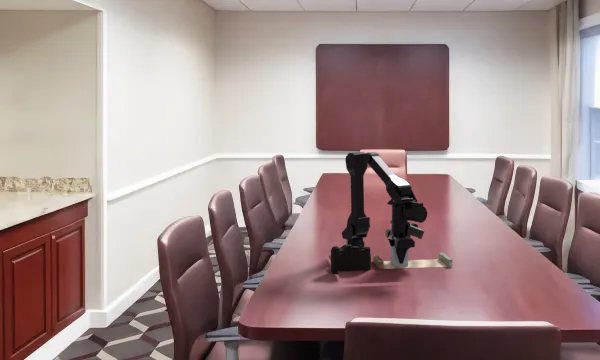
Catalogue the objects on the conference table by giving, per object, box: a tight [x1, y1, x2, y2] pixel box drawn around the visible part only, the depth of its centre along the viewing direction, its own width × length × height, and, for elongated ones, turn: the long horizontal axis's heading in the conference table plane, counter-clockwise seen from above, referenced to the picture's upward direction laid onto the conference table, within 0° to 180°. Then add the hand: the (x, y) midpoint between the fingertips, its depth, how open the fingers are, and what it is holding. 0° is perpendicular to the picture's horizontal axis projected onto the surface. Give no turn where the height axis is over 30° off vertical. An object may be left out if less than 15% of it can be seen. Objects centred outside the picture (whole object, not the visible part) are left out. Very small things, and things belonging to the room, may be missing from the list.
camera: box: [330, 243, 372, 275], centre depth 195 cm, size 14×11×10 cm
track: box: [372, 252, 453, 270], centre depth 199 cm, size 26×10×4 cm, turn 95°
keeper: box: [389, 246, 409, 267], centre depth 198 cm, size 5×6×7 cm
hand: (399, 261), depth 199 cm, fingers closed on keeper, 5 cm apart
